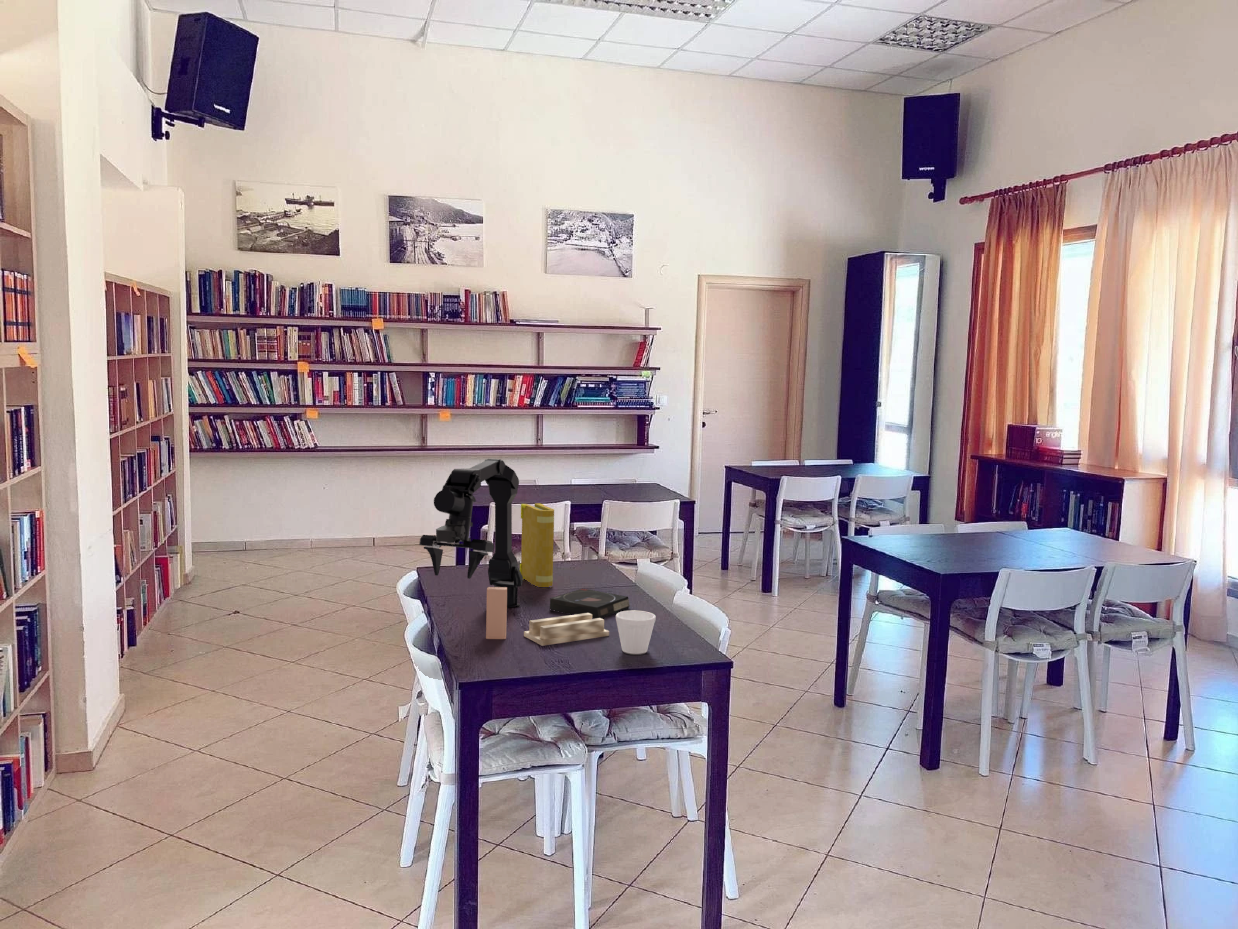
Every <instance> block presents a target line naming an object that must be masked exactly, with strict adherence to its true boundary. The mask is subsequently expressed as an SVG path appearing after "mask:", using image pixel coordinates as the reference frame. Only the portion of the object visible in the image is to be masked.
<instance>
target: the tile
mask: <svg viewBox="0 0 1238 929" xmlns="http://www.w3.org/2000/svg"><path fill="white" fill-rule="evenodd" d="M507 611H508V608H507V587H494V586H488V587H487V588H486V617H485V618H486V621H485V622H486V624H485V626H486V627H485V630H486V631H485V639H486V640H506V639H507V623H508V622H507V615H508V613H507Z"/></svg>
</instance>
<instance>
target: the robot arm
mask: <svg viewBox="0 0 1238 929" xmlns="http://www.w3.org/2000/svg"><path fill="white" fill-rule="evenodd" d="M482 482H485V483H486V485H487V486H488V492H489V496H490V497H491V499H492V501H493V502H494V543H493V541H492V540H486V539H477V538H476V539H475V538H473V539H472V540H471V537H470V530H471V527H473V525H474V524H473V523H474V522H472V515H473V514H472V513H473V506H474V503H475V502H477V500H476V497H475V496H474V495H473V494H474V493H475V492H477V491H478V490H479V489H480V488H481V487H482ZM519 485H520V480H519V477H518V475H517V473H516V471H515V469H512V468H511V467H510V466H508V465H506V462H505V461H504V459H503V460H502V459H501V458H487V459H485V460H484V461H482V462H480V463H478V464H476V465H474V466H471V467H469V468H454V469H453V470H451V472H450V473H449V476H447V479H446V482H445V483H444V485H442V489H441V490H439V491H438V492H437V493H436V494H435V496H434V497H433V505H434V508H435V509H436V510H437V511H439V512H440V513H444V514H448V518H446V519H445V523H444V525H442V526H440V527H437V528H436V529H435V535H430V534H429V535H428V534H422V535H421V537H420V538H419V544H418V545H419V546H423V550H426V551H427V552H428V553H429V557H430V559H431V564H432V568H433V573H434V576H439V573H440V570H441V564H442V558H443V551H444V549H443V548H441V547H452V548H465V549H472V550H469V551H468V552H469V553H468V554H469V563H468V568H467V569H468V570H467V575H466V577H467V579H468V580H470V579H471V578H472V577H473V575H474V574H475V571H476V570H477V568H478V566H479V565H480V563H481V562H482V560H483V559H484V558H485V556H489V553H494V554H493V555H492V557H491V558H489V560H488V568H487V575H488V576H487V577H488V581H489V585H490V586H493V587H507V609H508V608H515V607H516V606H517V607H521V604H520V603H518V594H519V592H518V590H519V589H518V588H520V587H522V586H523V582H524V580H523V576H522V574H521V572H520V567H518V566H519V564H518V559H517V557H516V556H515V553H514V552H513V548H512V546H513V545H512V544H513V543H512V542H513V540H512V539H513V536H512V535H513V529H512V528H513V523H512V522H513V521H512V520H513V515H512V514H513V513H512V512H513V510H512V509H513V508H512V506H513V501H514V499H515V497H516V496H517V494H518V489H519ZM460 542H461V543H460ZM517 607H516V608H517Z"/></svg>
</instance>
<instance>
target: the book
mask: <svg viewBox="0 0 1238 929" xmlns="http://www.w3.org/2000/svg"><path fill="white" fill-rule="evenodd" d="M520 519H521V548H520V549H521V553H520V554H521V558H520V559H521V560H520V562H521V563H519V570H520V572H521V574H522V576H523V579H525V580H527V581H528V582H530V583H531V584H530V583H529V584H530V585H532V584H533V585H535V586H538V587H549V586H552V585H553V581H554V579H553V577H554V575H553V574H554V543H555V542H554V541H555V540H554V539H555V535H554V534H555V508H552V507H548V506H546V505H544V504H543V503H534V506H533V505H531V504H528V503H521V504H520ZM525 580H524V581H525ZM527 581H526V582H527ZM528 582H527V583H528ZM533 585H532V586H533ZM535 586H534V587H535ZM552 587H553V586H552Z"/></svg>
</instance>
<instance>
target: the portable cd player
mask: <svg viewBox="0 0 1238 929" xmlns="http://www.w3.org/2000/svg"><path fill="white" fill-rule="evenodd" d="M629 608H630V599H629V596H628V595H627V596H626V595H622V594H616V593H611V592H610V593H609V592H604V591H600V590H593V589H588V588H584V587H583V588H580V589H576V590H573V591H569V592H566V593H563V594H560V595H557V596H553V597H551V598H549V610H550V609H551V610H555V611H554V612H556V611H559V612H558V613H561V612H563V613H562V614H566V613H570V614H569V615H571V614H574V615H576V614H583V613H590V614H592V618H593V619H596V618H602V619H603V617H604V618H606V617H609V616H612V615H615V614H617V613H619V611H620V612H622V611H621V610H623V611H625V610H624V609H626V610H628V609H629ZM551 610H550V611H551ZM614 613H615V614H614ZM611 614H612V615H611ZM605 616H606V617H605Z"/></svg>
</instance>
